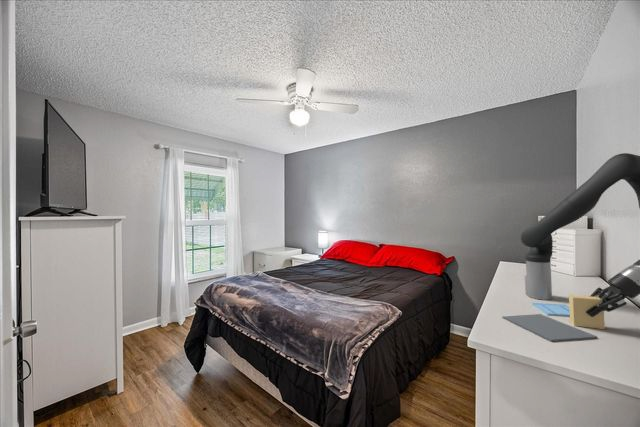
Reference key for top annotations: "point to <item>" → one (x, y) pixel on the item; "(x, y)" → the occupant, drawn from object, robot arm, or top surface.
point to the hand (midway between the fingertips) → (586, 312)
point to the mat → (549, 328)
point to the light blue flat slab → (553, 309)
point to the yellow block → (579, 315)
